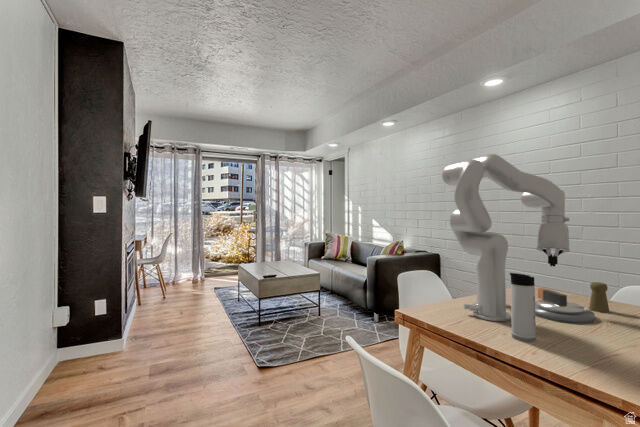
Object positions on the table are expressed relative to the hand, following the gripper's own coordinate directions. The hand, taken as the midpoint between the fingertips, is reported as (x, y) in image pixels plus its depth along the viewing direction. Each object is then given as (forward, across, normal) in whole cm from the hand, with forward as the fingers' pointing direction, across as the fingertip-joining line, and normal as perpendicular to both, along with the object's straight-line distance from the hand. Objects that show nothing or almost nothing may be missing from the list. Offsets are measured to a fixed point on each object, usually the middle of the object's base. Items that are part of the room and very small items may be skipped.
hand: (552, 265), depth 126 cm
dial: (+15, -2, +6) cm, 16 cm away
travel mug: (+19, +5, +42) cm, 46 cm away
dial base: (+18, -3, +7) cm, 19 cm away
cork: (+17, -14, -9) cm, 24 cm away
